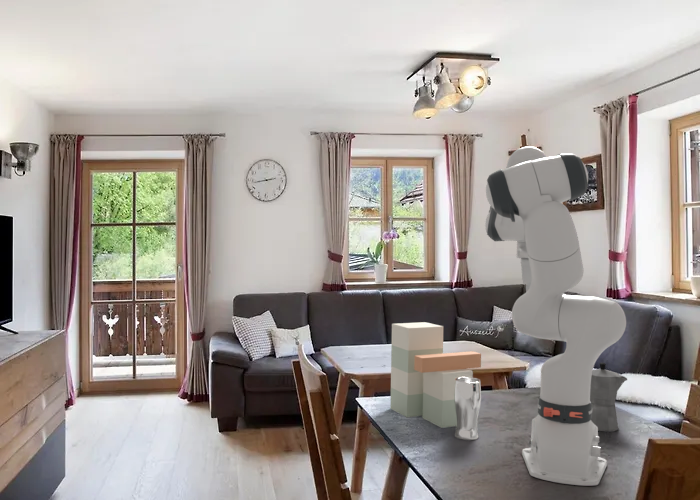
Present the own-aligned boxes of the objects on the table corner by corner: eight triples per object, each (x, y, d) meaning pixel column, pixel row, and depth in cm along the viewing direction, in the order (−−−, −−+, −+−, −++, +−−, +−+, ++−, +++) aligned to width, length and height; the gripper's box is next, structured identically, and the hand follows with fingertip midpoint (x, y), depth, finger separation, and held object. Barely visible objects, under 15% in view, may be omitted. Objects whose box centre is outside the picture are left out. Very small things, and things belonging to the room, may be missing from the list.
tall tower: (423, 404, 185) (425, 322, 185) (441, 413, 176) (443, 326, 175) (390, 408, 180) (391, 323, 179) (407, 417, 171) (408, 328, 170)
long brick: (472, 364, 174) (472, 351, 174) (480, 367, 170) (481, 353, 170) (414, 369, 166) (414, 355, 166) (421, 372, 162) (422, 358, 162)
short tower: (451, 414, 175) (452, 364, 175) (471, 423, 166) (472, 370, 166) (422, 418, 170) (423, 366, 170) (441, 428, 161) (442, 373, 161)
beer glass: (468, 442, 150) (469, 384, 150) (447, 435, 155) (448, 379, 155) (485, 437, 154) (486, 380, 154) (464, 430, 160) (465, 375, 159)
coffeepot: (632, 428, 164) (633, 364, 164) (619, 436, 157) (620, 368, 157) (577, 416, 175) (578, 356, 174) (563, 423, 168) (564, 360, 168)
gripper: (523, 252, 189) (521, 295, 189) (518, 252, 169) (517, 300, 169) (543, 253, 187) (542, 297, 186) (541, 252, 167) (540, 301, 167)
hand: (530, 298), depth 178 cm, fingers open, 8 cm apart
